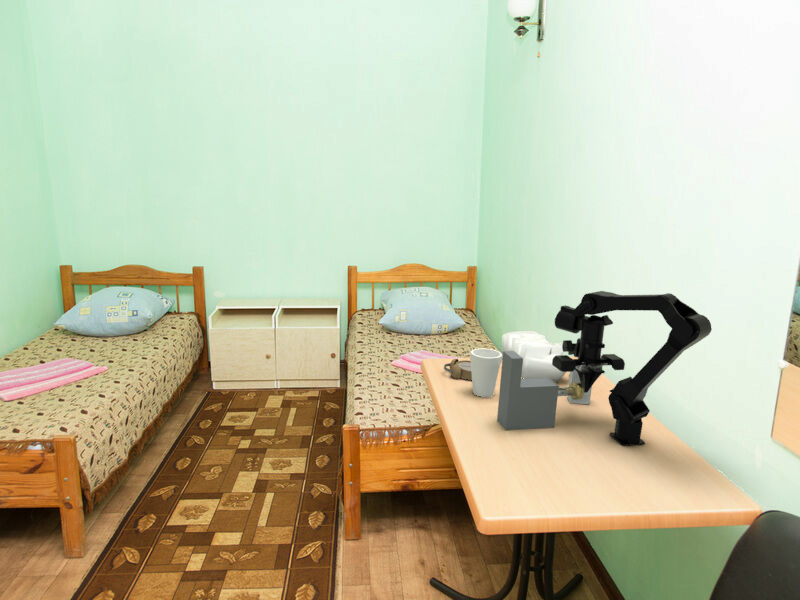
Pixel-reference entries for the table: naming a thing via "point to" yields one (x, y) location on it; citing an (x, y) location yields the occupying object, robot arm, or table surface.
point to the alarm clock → (460, 369)
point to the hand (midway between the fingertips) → (584, 392)
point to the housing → (525, 397)
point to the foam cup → (484, 371)
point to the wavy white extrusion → (534, 354)
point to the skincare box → (586, 397)
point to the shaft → (572, 391)
